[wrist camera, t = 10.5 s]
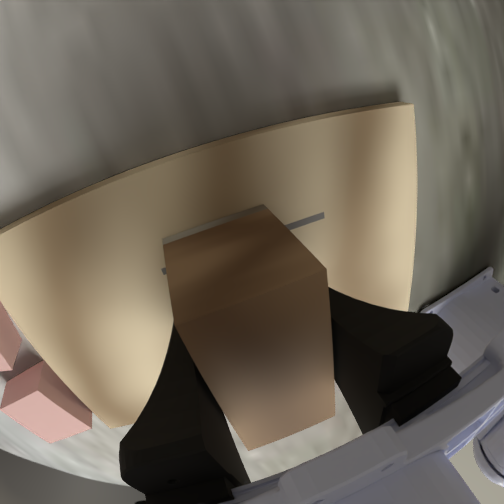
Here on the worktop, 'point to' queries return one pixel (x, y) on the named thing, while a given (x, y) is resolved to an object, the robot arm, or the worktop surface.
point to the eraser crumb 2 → (45, 404)
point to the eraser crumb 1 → (8, 341)
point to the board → (198, 213)
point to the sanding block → (255, 322)
